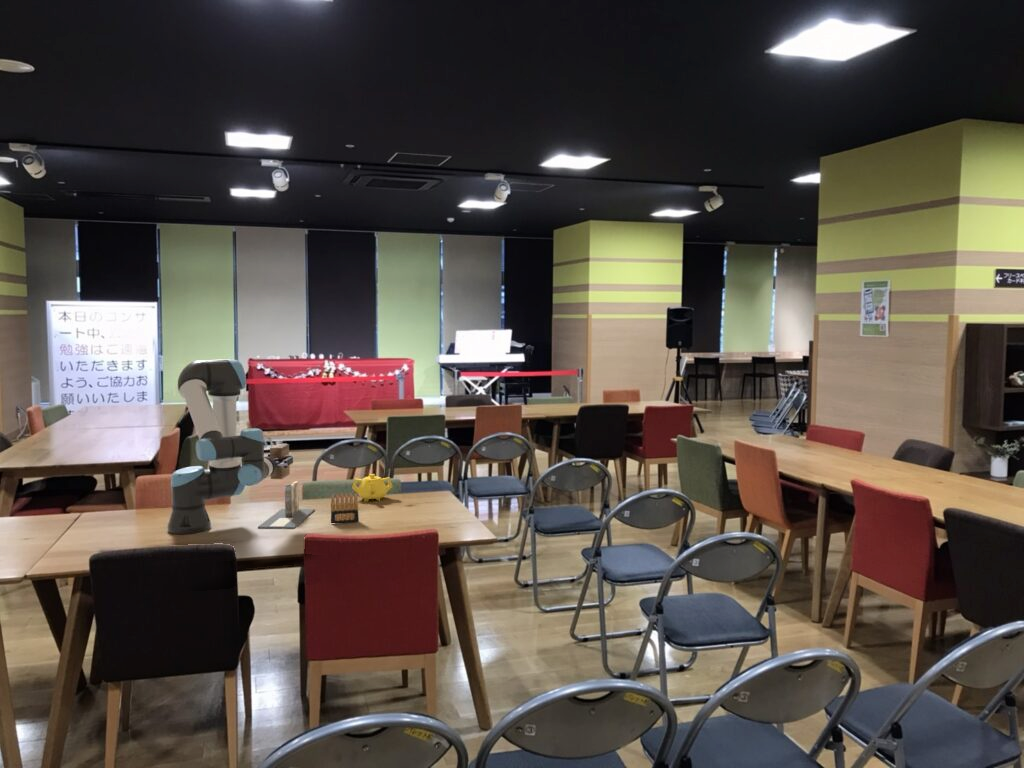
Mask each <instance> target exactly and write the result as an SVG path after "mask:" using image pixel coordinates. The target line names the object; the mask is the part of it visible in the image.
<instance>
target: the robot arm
mask: <svg viewBox="0 0 1024 768" xmlns="http://www.w3.org/2000/svg"><path fill="white" fill-rule="evenodd" d="M246 384H247V377H246V372H245V370H244V367H243V364H242V363H241V362H240V361H239V360H237V359H232V358H231V359H228V358H226V359H225V358H223V359H222V358H221V359H207V360H206V359H202V360H201V359H199V360H195V361H192V362H190V363H189V364H187V365H186V366H185V367H184V368H183V369H182V370H181V372H180V374H179V376H178V379H177V390H178V393H179V395H180V397H181V398H182V399H184V401H185V403H186V407H187V409H188V412H189V414H190V417H191V420H192V422H193V426H194V428H195V432H196V434H197V437H198V440H196V443H195V453H196V457H197V459H198V460H199V461H200V462H209V461H210V462H209V463H208V468H206V469H205V468H204V467H203V466H202V465H194V466H193V465H192V466H187V467H182V468H180V469H177V470H175V471H174V472H172V474H171V476H170V488H171V493H170V494H171V513H170V517H169V521H168V523H167V532H168V533H170V534H173V535H188V534H195V533H196V534H198V533H201V531H202V532H205V531H207V530H209V529H210V528H212V527H211V526H212V524H211V519H210V516H209V514H208V512H207V509H206V501H207V500H213V499H222V498H230V497H235V496H239V495H240V494H242V493H243V491H244V489H245V487H251V486H255V485H257V484H259V483H261V482H262V481H263V480H265V479H267V478H268V477H271V475H272V474H273V473H274V472H275V471H276V469H277V468H279V467H280V466H283V467H284V468H287V467H288V466H291V465H292V464H293V463H294V457H293V454H292V453H293V452H289V454H287V455H285V456H284V457H283V458H280V459H279V458H276V459H273V458H272V457H270V453H269V454H267V455H265V453H264V452H265V450H264V449H265V447H264V446H265V445H264V443H265V441H264V431H263V430H262V429H260V428H255V427H253V428H243V429H241V430H240V433H239V435H237V399H238V398H239V396H241V390H244V389H245V388H246ZM208 396H209V397H210V398H211V400H212V404H211V402H210V399H209V397H208ZM238 458H241V461H240V460H239V459H238ZM204 530H205V531H204Z"/></svg>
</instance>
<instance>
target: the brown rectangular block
mask: <svg viewBox="0 0 1024 768" xmlns="http://www.w3.org/2000/svg"><path fill="white" fill-rule="evenodd" d="M289 453H290V444H289V443H277V444H276V445H273V446H271V447H270V448H269V454H270V457H272V458H273V459H276V458H279V459H280V458H283V457H284V456H285V455H287V454H289ZM290 468H291V465H289V466H288V467H287V468H284V467H283V466H280V467H279V468H277V469H276V471H275V472H274V473H273V474H272V475H270V480H283V479H284V478H286V477H288V476H289V475H290V473H291V472H290V471H291V469H290Z"/></svg>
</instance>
